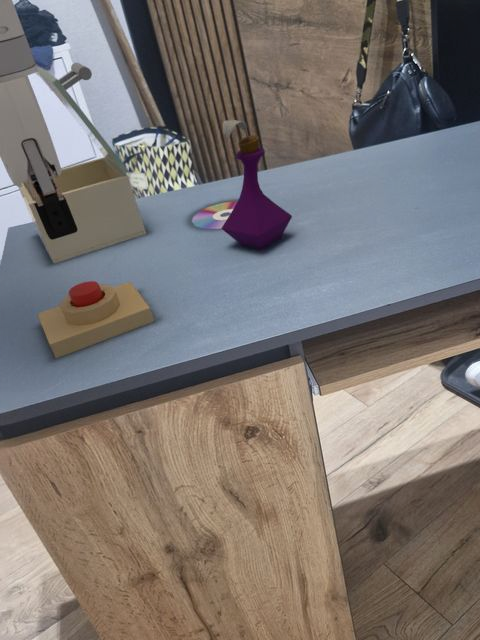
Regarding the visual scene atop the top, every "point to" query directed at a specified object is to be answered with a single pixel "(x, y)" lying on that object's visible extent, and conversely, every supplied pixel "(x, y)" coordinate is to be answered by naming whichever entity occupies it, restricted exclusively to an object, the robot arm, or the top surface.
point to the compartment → (91, 209)
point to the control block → (94, 319)
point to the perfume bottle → (253, 199)
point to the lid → (75, 111)
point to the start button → (86, 294)
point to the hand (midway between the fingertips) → (63, 233)
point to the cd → (213, 216)
